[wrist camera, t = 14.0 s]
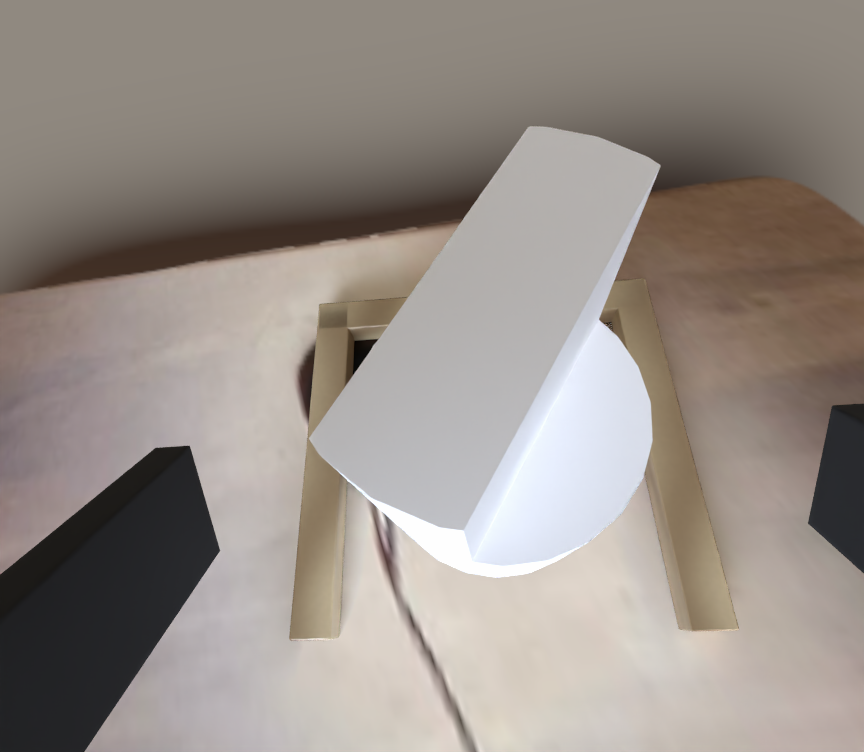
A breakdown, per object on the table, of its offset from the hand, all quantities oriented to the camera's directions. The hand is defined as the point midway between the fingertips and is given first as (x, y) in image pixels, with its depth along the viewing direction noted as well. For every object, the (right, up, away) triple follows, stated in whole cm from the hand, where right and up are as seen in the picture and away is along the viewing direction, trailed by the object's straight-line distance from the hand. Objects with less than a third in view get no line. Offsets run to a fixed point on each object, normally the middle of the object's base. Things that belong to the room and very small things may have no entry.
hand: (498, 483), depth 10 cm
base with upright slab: (+1, -1, +10) cm, 10 cm away
